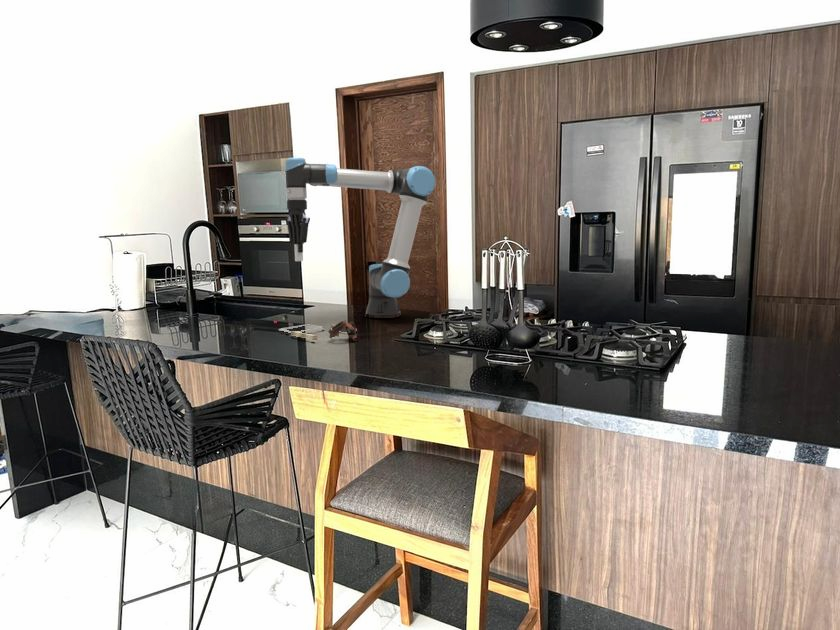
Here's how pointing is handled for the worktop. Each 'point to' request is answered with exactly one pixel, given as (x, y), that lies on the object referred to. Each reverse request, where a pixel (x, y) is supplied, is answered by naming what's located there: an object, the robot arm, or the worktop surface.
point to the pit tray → (297, 327)
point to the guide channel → (307, 336)
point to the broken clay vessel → (343, 329)
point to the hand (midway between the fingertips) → (299, 260)
